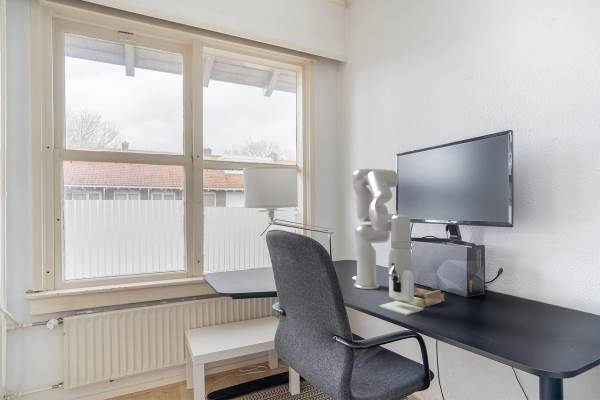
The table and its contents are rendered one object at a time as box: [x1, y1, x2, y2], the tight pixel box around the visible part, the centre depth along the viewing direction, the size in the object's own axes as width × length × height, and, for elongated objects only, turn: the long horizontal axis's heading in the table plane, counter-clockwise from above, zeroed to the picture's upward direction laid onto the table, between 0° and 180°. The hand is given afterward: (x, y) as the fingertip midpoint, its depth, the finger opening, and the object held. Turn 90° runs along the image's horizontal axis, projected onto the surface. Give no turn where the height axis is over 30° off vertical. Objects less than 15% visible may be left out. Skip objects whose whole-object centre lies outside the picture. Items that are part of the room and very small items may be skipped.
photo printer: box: [388, 269, 415, 302], centre depth 135 cm, size 10×4×12 cm, turn 39°
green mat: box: [378, 300, 424, 316], centre depth 135 cm, size 13×11×1 cm
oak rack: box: [392, 286, 445, 309], centre depth 147 cm, size 15×15×5 cm
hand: (401, 290), depth 135 cm, fingers closed on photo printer, 4 cm apart
